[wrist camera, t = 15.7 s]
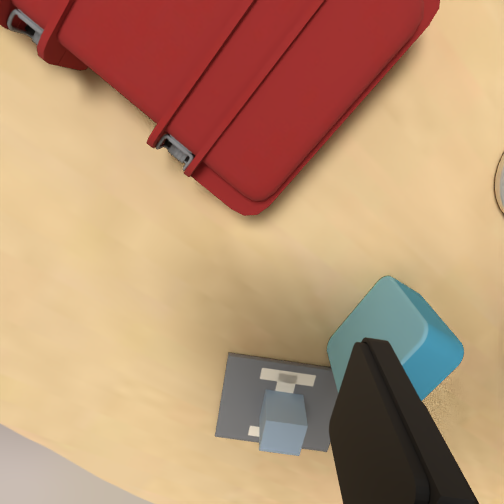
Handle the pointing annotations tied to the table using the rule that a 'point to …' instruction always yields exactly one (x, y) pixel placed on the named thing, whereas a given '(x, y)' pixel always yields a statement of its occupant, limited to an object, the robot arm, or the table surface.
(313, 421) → the letter mat
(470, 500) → the robot arm
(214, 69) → the first aid kit
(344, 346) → the data package
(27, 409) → the table surface
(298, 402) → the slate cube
